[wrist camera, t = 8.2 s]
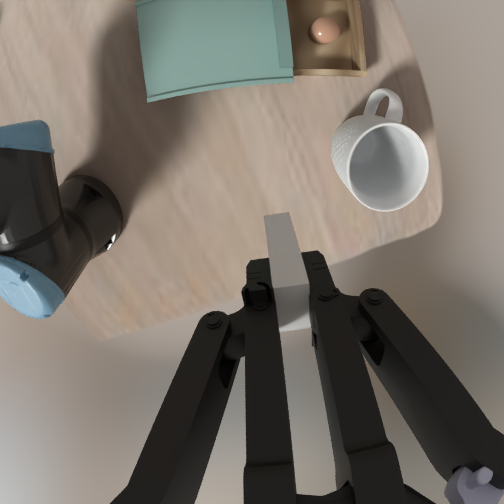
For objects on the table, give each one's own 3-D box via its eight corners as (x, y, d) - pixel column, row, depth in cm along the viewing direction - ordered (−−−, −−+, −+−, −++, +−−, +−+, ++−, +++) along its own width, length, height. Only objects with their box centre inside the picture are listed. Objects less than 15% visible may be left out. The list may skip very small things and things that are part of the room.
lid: (155, 100, 34) (141, 104, 30) (143, 6, 26) (128, -2, 22) (291, 82, 33) (296, 82, 29) (279, -16, 25) (283, -29, 20)
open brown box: (230, 80, 35) (228, 80, 32) (221, 0, 28) (217, -8, 25) (355, 76, 34) (366, 76, 31) (347, -2, 27) (357, -9, 23)
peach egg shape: (308, 44, 31) (313, 41, 28) (306, 22, 30) (311, 17, 27) (334, 45, 31) (341, 42, 28) (331, 23, 29) (338, 18, 26)
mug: (335, 76, 35) (367, 75, 24) (400, 98, 35) (448, 110, 25) (313, 168, 43) (335, 203, 32) (376, 183, 44) (412, 220, 33)
